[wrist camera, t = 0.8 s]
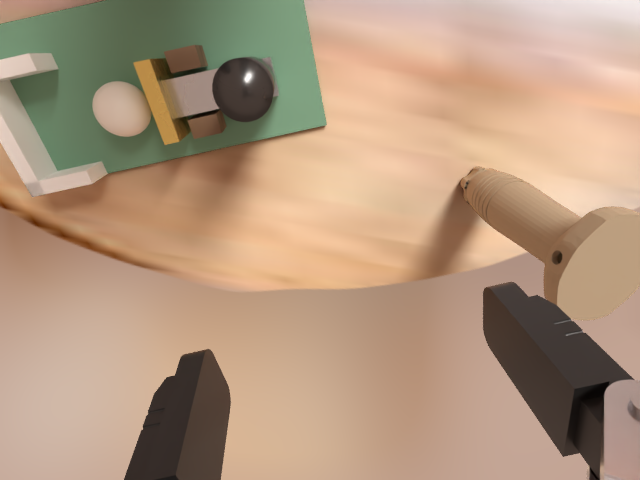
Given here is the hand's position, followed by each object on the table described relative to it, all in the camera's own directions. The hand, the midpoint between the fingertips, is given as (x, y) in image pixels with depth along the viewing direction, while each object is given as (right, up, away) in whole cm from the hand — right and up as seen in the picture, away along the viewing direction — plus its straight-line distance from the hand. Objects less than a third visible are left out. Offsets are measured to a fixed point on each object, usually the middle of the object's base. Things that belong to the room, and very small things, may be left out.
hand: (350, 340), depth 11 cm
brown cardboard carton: (-10, +14, +17) cm, 24 cm away
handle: (+13, +8, +22) cm, 27 cm away
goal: (-21, +12, +17) cm, 29 cm away
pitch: (-12, +14, +17) cm, 25 cm away
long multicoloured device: (-8, +14, +16) cm, 23 cm away
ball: (-14, +12, +15) cm, 24 cm away
